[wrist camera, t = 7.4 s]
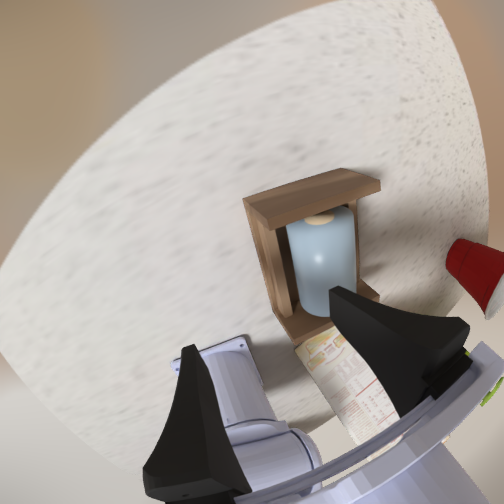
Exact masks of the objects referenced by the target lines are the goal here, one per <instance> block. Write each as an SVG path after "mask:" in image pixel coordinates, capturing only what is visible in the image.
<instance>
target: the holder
mask: <svg viewBox="0 0 504 504" xmlns="http://www.w3.org/2000/svg"><path fill="white" fill-rule="evenodd" d="M379 191H381V186H380V180H377V179H374V178H371V177H368V176H365V175H362V174H359V173H356V172H352V171H349V170H346V169H342V168H339V169H335V170H332V171H328V172H325V173H321V174H318V175H315V176H311V177H308V178H305V179H301V180H298V181H295V182H292V183H288V184H285V185H282V186H279V187H276V188H273V189H270V190H267V191H264V192H261V193H258V194H255V195H252V196H249V197H246V198H243V202H244V206H245V210H246V213H247V217H248V221H249V225H250V228H251V232H252V236H253V239H254V243H255V247H256V250H257V254H258V258H259V262H260V265H261V269H262V273H263V276H264V280H265V284H266V288H267V291H268V295H269V299H270V303H271V306H272V310H273V312H274V314H275V315H276V317H277V319H278V320H279V322H280V323H281V325H282V326H283V328H284V329H285V331H286V333H287V334H288V336H289V337H290V339H291V340H292V342H293V343H294V345H297V344H300V343H302V342H304V341H306V340H308V339H310V338H312V337H314V336H316V335H318V334H320V333H322V332H324V331H326V330H328V329H330V328H332V327H334V326H335V325H334V323H333V322H332V320H331V319H330V317H320V316H315V315H312V314H310V313H308V312H307V311H306V310H305V309H304V308H303V307H302V305H301V303H300V298H299V292H298V287H297V281H296V275H295V270H294V265H293V259H292V254H291V249H290V244H289V239H288V234H287V229H286V225H288V224H291V223H293V222H296V221H299V220H301V219H304V218H307V217H310V216H312V215H315V214H318V213H321V212H323V211H326V210H329V209H331V208H334V207H337V206H340V205H341V206H344V207H346V208H348V209H350V210H351V211H352V212H353V215H354V228H355V247H356V293H357V294H359V295H361V296H363V297H366V298H368V299H370V300H373V301H375V302H379V298H380V295H379V294H378V293H377V292H376V291H374V290H373V289H372V288H371V287H370V286H368V285H367V284H366V283H365V282H364V281H362V280H361V279H360V277H359V238H358V220H357V206H356V199H359V198H362V197H365V196H367V195H370V194H373V193H376V192H379Z"/></svg>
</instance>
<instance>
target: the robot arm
mask: <svg viewBox="0 0 504 504" xmlns="http://www.w3.org/2000/svg"><path fill="white" fill-rule="evenodd" d="M328 291H329V311H330V319H331V320H332V322H333V323H334V325H335V326H336V328H337V329H338V331H339V332H340V333H341V334H342V336H343V337H344V338H345V339H346V340H347V341H348V342H349V343H350V345H351V346H352V347H353V348H354V349H355V350H356V351H357V352H358V354H359V355H360V356H361V357H362V358H363V359H364V360H365V362H366V363H367V364H368V366H369V367H370V368H371V370H372V371H373V373H374V374H375V376H376V377H377V379H378V380H379V382H380V383H381V385H382V387H383V388H384V390H385V392H386V393H387V395H388V397H389V398H390V400H391V402H392V404H393V406H394V408H395V410H396V412H397V413H398V416H399V418H400V419H399V420H398V421H396V422H395V423H394V424H392V425H391V426H389V427H388V428H386V429H385V430H383V431H382V432H380V433H379V434H377V435H376V436H374V437H372V438H371V439H369V440H368V441H366V442H364V443H363V444H361V445H359V446H358V447H356V448H354V449H352V450H351V451H349V452H347V453H345V454H343V455H341V456H340V457H338V458H336V459H334V460H332V461H330V462H328V463H326V464H324V465H323V464H322V459H321V456H320V453H319V450H318V448H317V446H316V444H315V443H314V441H313V440H312V439H311V438H310V436H309V435H307V434H306V433H304V432H303V431H302V430H300V429H298V428H290V429H289V427H288V425H287V423H286V421H285V420H283V421H278V420H277V418H276V416H275V414H274V412H273V410H272V407H271V405H270V403H269V401H268V399H267V397H266V395H265V393H264V391H263V389H262V386H263V381H262V379H261V377H260V374H259V372H258V369H257V367H256V365H255V362H254V360H253V357H252V355H251V353H250V350H249V348H248V345H247V343H246V340H245V338H244V337H238V338H235V339H232V340H230V341H227V342H225V343H222V344H220V345H217V346H214V347H212V348H209V349H206V350H204V351H201V352H199V351H198V350H197V348H196V346H195V344H192V345H189V346H186V347H183V348H182V350H181V359H179V360H176V361H173V362H171V368H172V369H173V371H174V372H175V373H176V375H177V376H178V381H177V387H176V391H175V395H174V400H173V403H172V407H171V410H170V413H169V416H168V419H167V422H166V424H165V427H164V429H163V432H162V434H161V436H160V438H159V440H158V442H157V444H156V446H155V448H154V450H153V452H152V454H151V455H150V457H149V459H148V460H147V462H146V464H145V465H144V467H143V482H144V487H145V493H146V495H147V496H149V497H151V498H154V499H157V500H160V501H164V502H165V504H491V503H490V502H489V501H488V499H487V498H486V497H485V496H484V494H483V493H482V492H481V490H480V489H479V488H478V487H477V485H476V484H475V483H474V482H473V480H472V479H471V478H470V476H469V475H468V474H467V473H466V472H465V470H464V469H463V468H462V467H461V465H460V464H459V463H458V462H457V460H456V459H455V458H454V457H453V455H452V454H451V453H450V452H449V451H448V450H447V448H446V447H445V446H444V445H443V443H442V442H441V441H442V440H444V439H445V438H446V437H447V436H448V435H449V434H450V433H451V432H452V431H453V430H454V429H455V428H456V427H457V426H458V425H459V424H460V423H461V422H462V421H463V420H464V419H465V418H466V417H467V416H468V415H469V414H470V413H471V412H472V411H473V410H474V408H475V407H476V406H477V405H478V404H479V403H480V402H481V400H482V399H483V398H484V397H485V396H486V395H487V393H488V392H489V391H490V390H491V388H492V387H493V386H494V385H495V383H496V382H497V381H498V379H499V378H500V377H501V375H502V374H503V372H504V360H503V359H502V358H501V357H500V356H498V355H497V354H496V353H495V352H494V351H493V350H492V349H491V348H490V347H488V346H487V345H486V344H485V343H484V342H483V341H481V342H480V343H479V344H478V345H477V346H476V347H475V348H474V349H473V351H472V352H471V353H470V354H469V356H467V355H466V354H465V353H466V349H465V348H464V347H463V345H464V343H465V341H466V339H467V337H468V334H469V331H470V325H468V324H467V323H466V322H465V321H464V320H462V319H461V318H460V317H438V316H428V315H421V314H415V313H410V312H406V311H402V310H398V309H395V308H392V307H389V306H386V305H383V304H380V303H378V302H375V301H373V300H370V299H368V298H366V297H363V296H361V295H359V294H357V293H354V292H352V291H350V290H348V289H346V288H343V287H341V286H339V285H338V286H336V287H333V288H331V289H329V290H328ZM241 344H242V345H241ZM408 429H409V430H408ZM407 430H408V431H407ZM406 431H407V432H406ZM404 432H406V433H404ZM403 433H404V434H403ZM402 434H403V437H402V438H401V440H400V441H399V442H398V443H397V444H396V445H395V446H393V447H392V448H390V449H389V450H387V451H386V452H384V453H382V454H381V455H379V456H378V457H376V458H374V459H373V460H371V461H370V462H368V463H366V464H365V465H363V466H362V467H360V468H358V469H356V470H355V471H353V472H351V473H349V474H347V475H346V476H344V477H342V478H340V479H339V480H337V481H335V482H333V483H331V484H329V485H327V486H325V487H322V481H324V480H326V479H328V478H330V477H332V476H334V475H336V474H338V473H340V472H342V471H344V470H346V469H348V468H349V467H351V466H353V465H355V464H357V463H358V462H360V461H362V460H364V459H365V458H367V457H369V456H370V455H372V454H373V453H375V452H377V451H378V450H380V449H381V448H383V447H384V446H386V445H387V444H389V443H390V442H392V441H393V440H395V439H396V438H397V437H399V436H400V435H402Z"/></svg>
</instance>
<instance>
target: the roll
mask: <svg viewBox="0 0 504 504" xmlns="http://www.w3.org/2000/svg"><path fill="white" fill-rule="evenodd" d="M286 229H287V234H288V239H289V244H290V249H291V254H292V259H293V265H294V270H295V275H296V281H297V287H298V292H299V298H300V303H301V305H302V307H303V308H304V309H305V310H306V311H307V312H308V313H310V314H312V315H315V316H320V317H330V311H329V291H328V290H329V289H331V288H333V287H336V286H338V285H339V286H341V287H343V288H346V289H348V290H350V291H352V292H354V293H356V247H355V228H354V215H353V212H352V211H351V210H350V209H348V208H346V207H344V206H341V205H340V206H337V207H334V208H331V209H329V210H326V211H323V212H321V213H318V214H315V215H312V216H310V217H307V218H304V219H301V220H299V221H296V222H293V223H291V224H288V225H286Z"/></svg>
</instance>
